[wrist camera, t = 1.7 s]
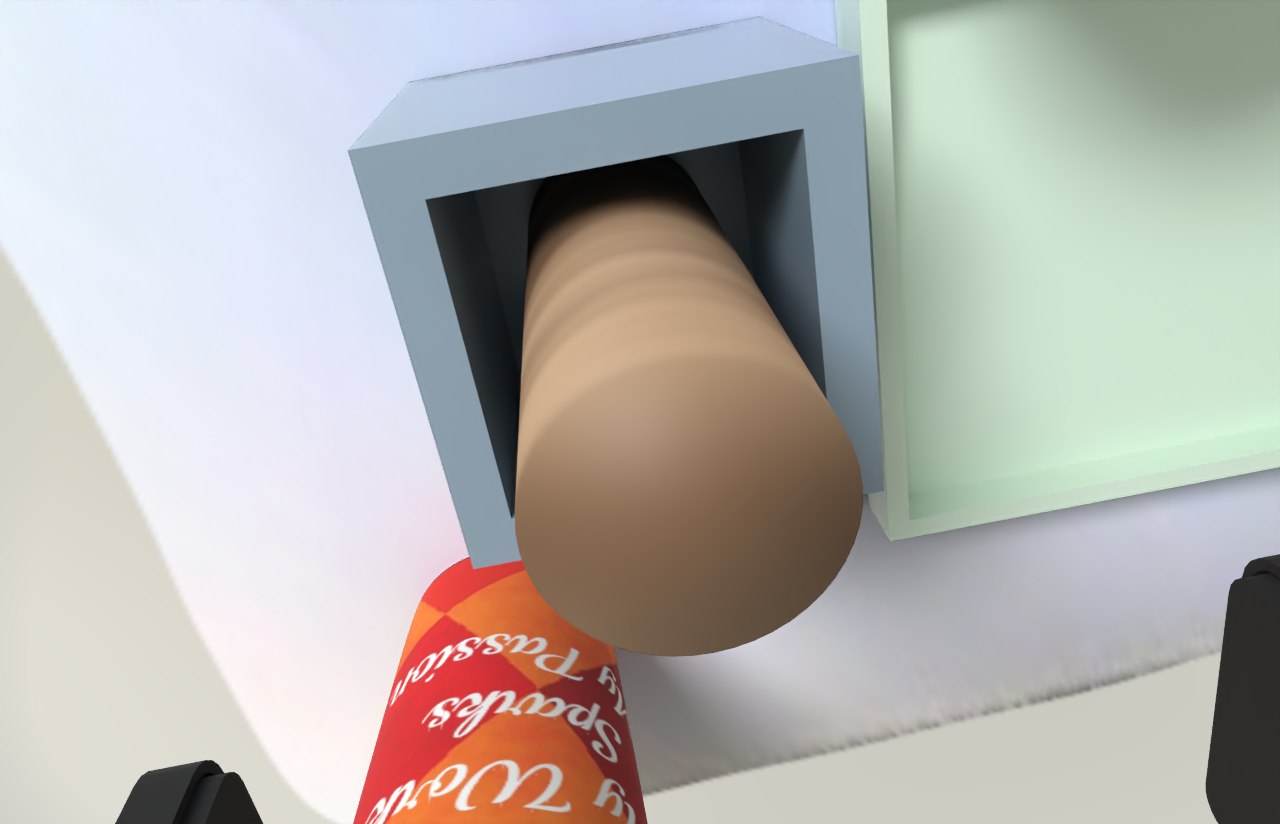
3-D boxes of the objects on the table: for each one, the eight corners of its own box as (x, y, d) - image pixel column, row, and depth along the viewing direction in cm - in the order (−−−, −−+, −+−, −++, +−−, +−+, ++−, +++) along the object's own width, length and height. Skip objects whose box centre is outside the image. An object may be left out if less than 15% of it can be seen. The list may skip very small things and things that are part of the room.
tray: (832, -35, 22) (857, -32, 21) (1421, -145, 22) (1496, -152, 21) (868, 504, 29) (889, 541, 27) (1321, 418, 29) (1371, 449, 27)
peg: (510, 159, 23) (476, 397, 11) (693, 125, 23) (851, 326, 11) (548, 331, 25) (554, 683, 13) (717, 299, 25) (872, 622, 13)
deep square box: (409, 81, 23) (347, 150, 16) (759, 16, 23) (858, 54, 16) (491, 397, 26) (473, 569, 19) (792, 341, 27) (884, 491, 19)
